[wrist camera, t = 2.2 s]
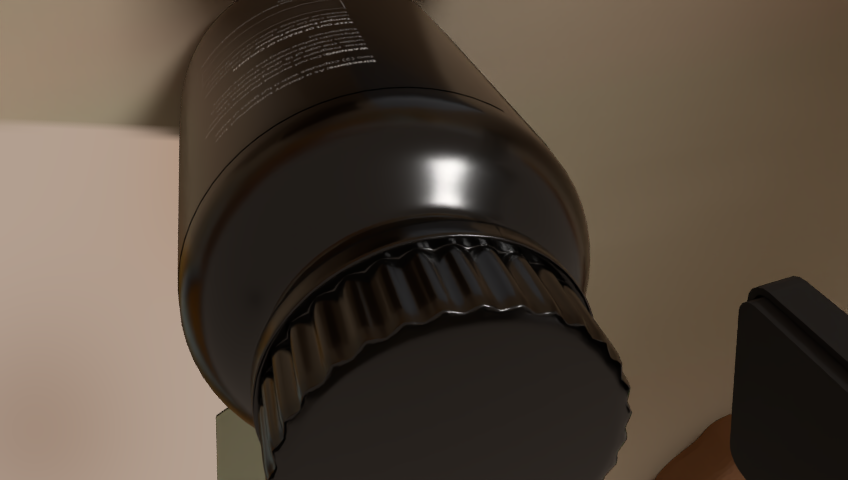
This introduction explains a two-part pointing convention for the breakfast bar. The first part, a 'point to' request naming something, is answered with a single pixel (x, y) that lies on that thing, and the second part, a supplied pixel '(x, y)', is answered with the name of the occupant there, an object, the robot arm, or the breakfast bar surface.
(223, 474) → the sage cube
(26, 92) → the breakfast bar surface
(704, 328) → the breakfast bar surface
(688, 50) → the breakfast bar surface
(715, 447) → the plant
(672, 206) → the breakfast bar surface
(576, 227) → the supplement bottle
